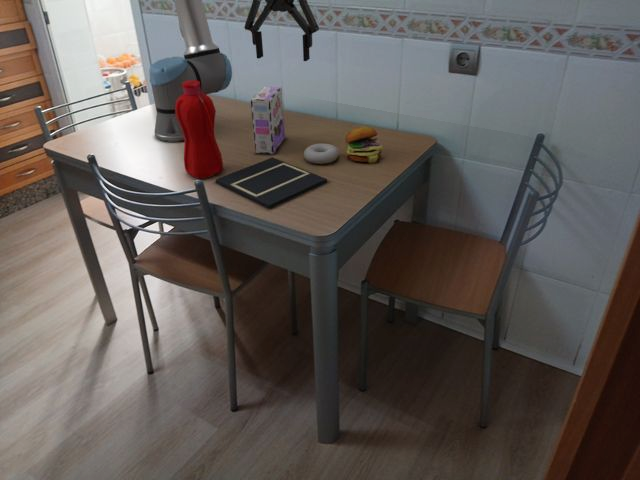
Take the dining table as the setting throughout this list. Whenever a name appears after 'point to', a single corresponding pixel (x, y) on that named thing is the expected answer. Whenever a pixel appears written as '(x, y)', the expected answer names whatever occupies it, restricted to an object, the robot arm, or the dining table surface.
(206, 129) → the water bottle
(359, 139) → the cheeseburger
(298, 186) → the placemat
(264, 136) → the candy box
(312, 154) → the donut
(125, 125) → the dining table surface
